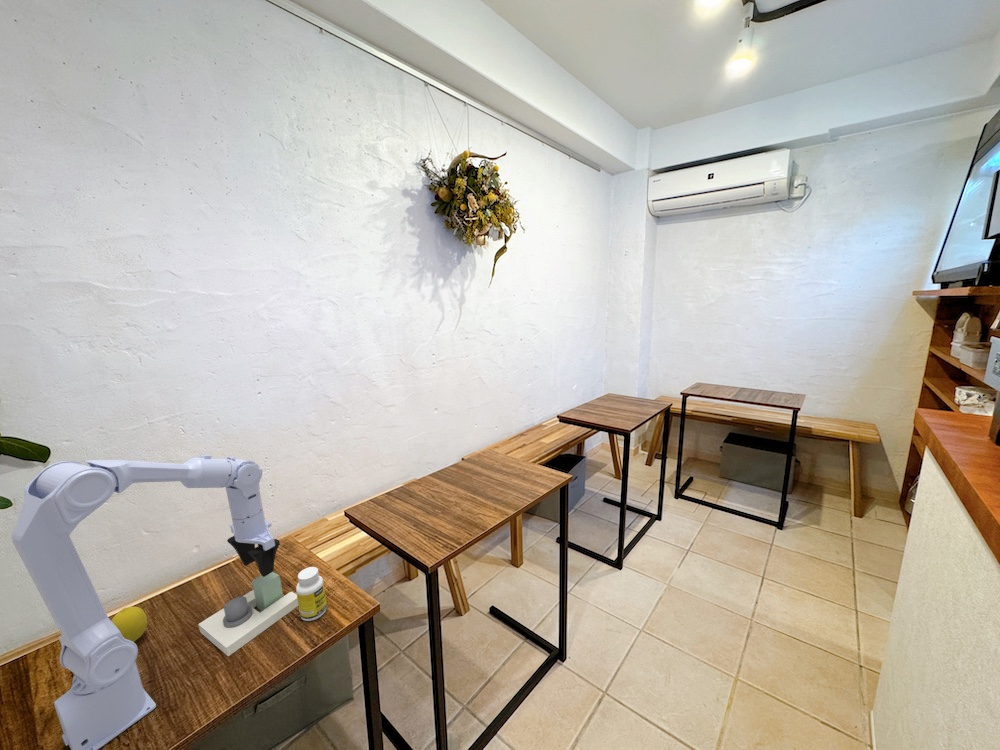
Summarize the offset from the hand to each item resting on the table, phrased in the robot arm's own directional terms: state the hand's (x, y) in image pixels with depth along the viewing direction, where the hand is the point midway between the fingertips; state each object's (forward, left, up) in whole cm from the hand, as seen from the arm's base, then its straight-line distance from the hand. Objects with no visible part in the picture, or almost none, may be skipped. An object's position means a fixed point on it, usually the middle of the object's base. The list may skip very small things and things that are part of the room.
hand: (258, 568), depth 87 cm
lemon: (-19, +15, -10) cm, 26 cm away
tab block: (+1, -1, -9) cm, 9 cm away
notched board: (-3, -1, -9) cm, 10 cm away
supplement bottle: (+4, -12, -10) cm, 16 cm away
